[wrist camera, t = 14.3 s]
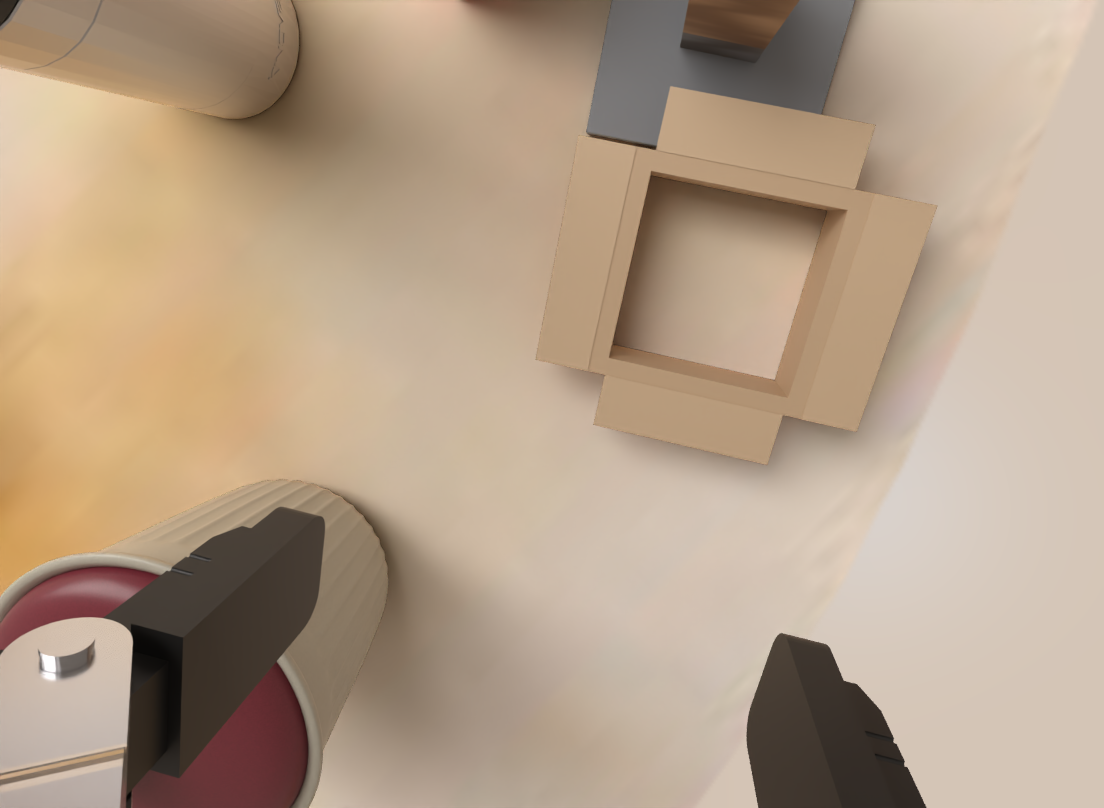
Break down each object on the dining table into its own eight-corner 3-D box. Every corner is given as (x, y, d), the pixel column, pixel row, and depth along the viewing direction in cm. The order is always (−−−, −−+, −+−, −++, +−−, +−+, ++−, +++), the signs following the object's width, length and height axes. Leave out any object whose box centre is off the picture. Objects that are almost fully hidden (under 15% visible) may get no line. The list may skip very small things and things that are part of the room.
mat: (587, 133, 37) (586, 131, 36) (645, -161, 33) (645, -172, 32) (799, 175, 36) (803, 174, 35) (886, -123, 32) (894, -133, 31)
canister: (457, 649, 48) (321, 959, 28) (241, 671, 52) (-17, 962, 32) (390, 417, 44) (172, 589, 24) (159, 459, 47) (-202, 639, 27)
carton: (537, 391, 42) (526, 409, 38) (596, 86, 36) (591, 71, 33) (820, 456, 40) (838, 481, 37) (926, 149, 35) (960, 141, 31)
